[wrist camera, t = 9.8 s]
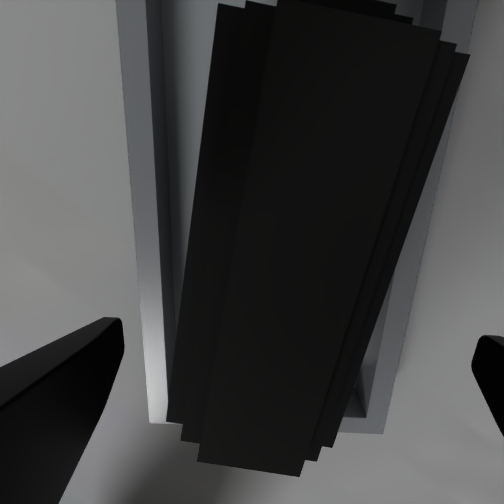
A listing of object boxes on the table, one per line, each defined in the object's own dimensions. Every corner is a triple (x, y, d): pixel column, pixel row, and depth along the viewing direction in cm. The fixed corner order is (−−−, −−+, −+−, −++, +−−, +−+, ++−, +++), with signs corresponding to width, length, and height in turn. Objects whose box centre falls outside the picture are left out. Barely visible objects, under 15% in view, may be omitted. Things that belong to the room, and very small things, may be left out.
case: (369, 398, 25) (433, 567, 16) (162, 388, 25) (103, 549, 16) (463, -88, 16) (762, -389, 6) (131, -100, 16) (-56, -412, 6)
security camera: (193, 354, 24) (148, 511, 14) (240, 35, 17) (215, -59, 8) (296, 371, 24) (319, 536, 15) (381, 64, 17) (520, 5, 8)
